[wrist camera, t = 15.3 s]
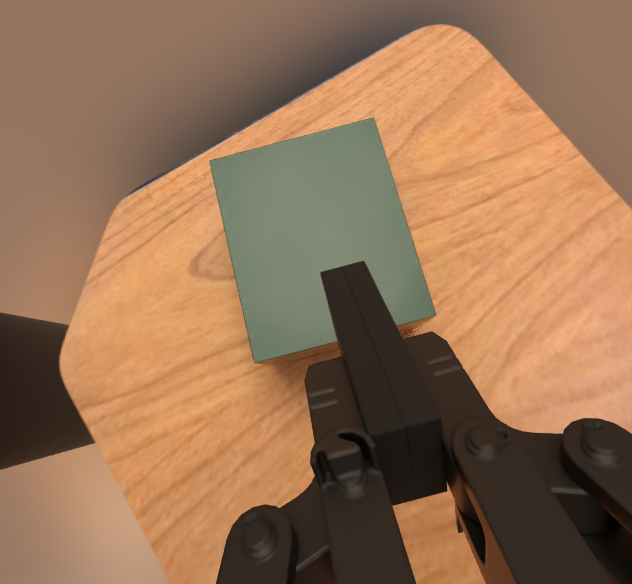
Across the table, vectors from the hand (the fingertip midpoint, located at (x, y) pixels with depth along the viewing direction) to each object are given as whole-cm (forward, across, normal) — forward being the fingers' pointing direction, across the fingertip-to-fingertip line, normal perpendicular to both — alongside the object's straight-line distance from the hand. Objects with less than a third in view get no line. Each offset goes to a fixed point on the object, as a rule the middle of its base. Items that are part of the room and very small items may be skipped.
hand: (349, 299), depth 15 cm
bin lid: (+18, 0, -7) cm, 19 cm away
